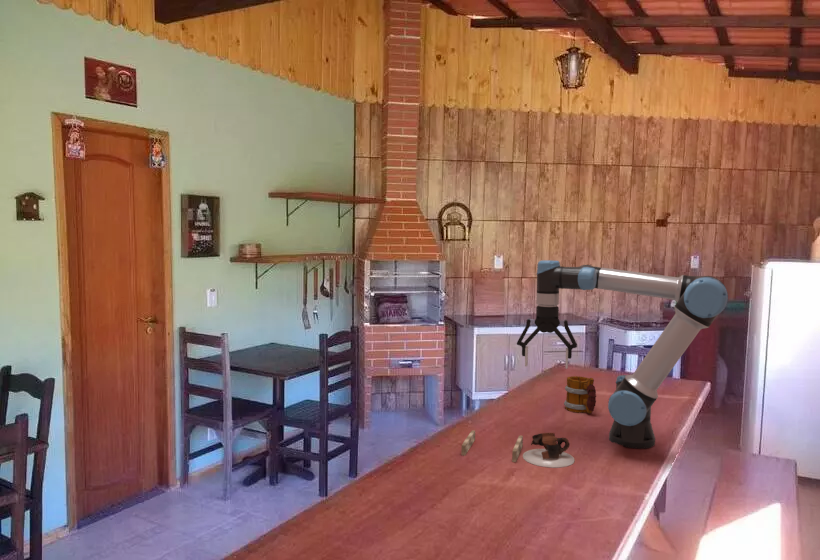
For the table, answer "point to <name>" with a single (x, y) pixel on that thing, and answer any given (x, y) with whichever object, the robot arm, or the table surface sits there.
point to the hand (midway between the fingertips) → (546, 366)
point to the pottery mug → (550, 444)
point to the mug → (580, 394)
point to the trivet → (537, 459)
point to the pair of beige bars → (471, 439)
